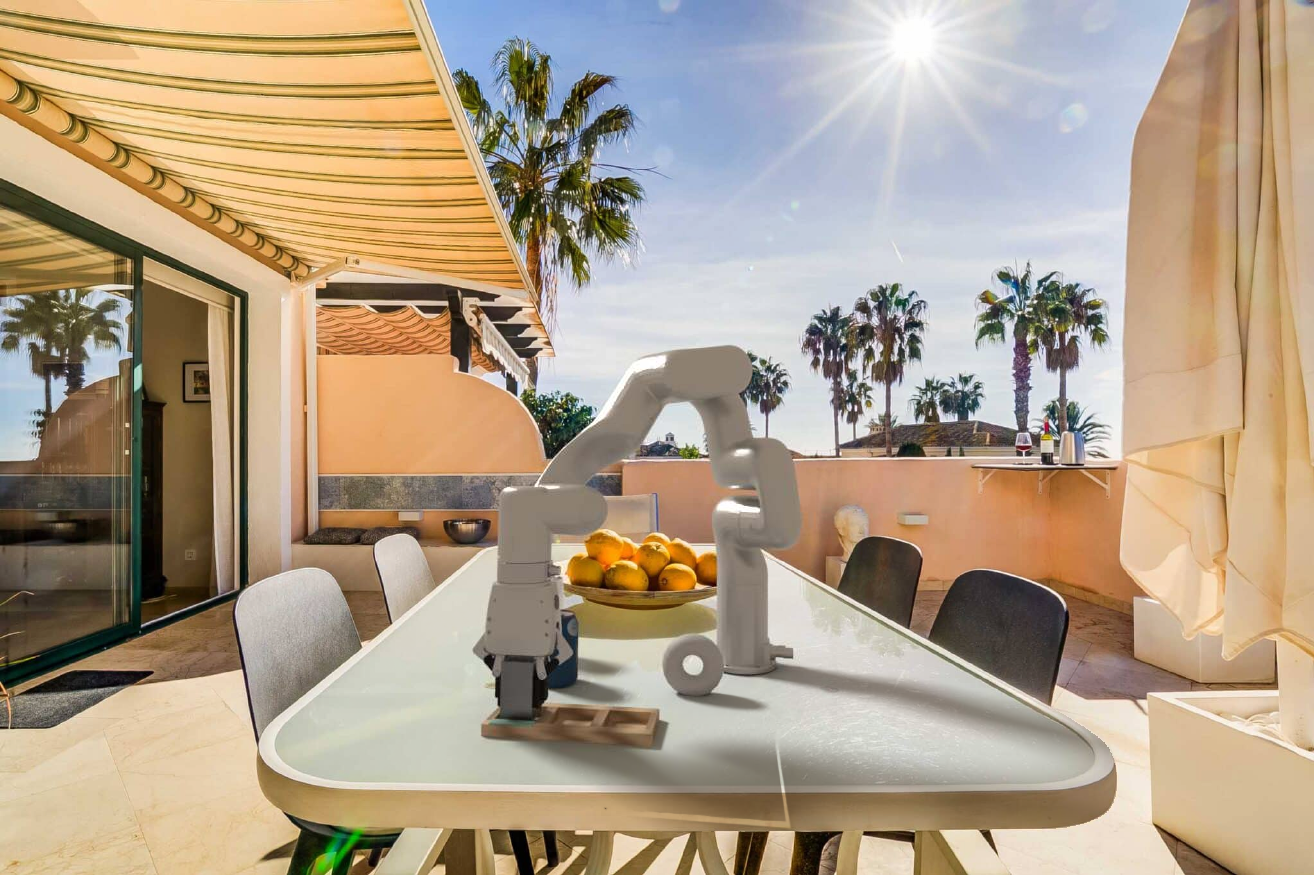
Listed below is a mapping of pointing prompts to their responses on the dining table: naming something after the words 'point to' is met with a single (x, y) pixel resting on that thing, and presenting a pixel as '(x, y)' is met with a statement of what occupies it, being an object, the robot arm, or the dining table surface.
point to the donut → (684, 680)
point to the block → (518, 689)
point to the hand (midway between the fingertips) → (521, 702)
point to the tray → (580, 724)
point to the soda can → (568, 669)
